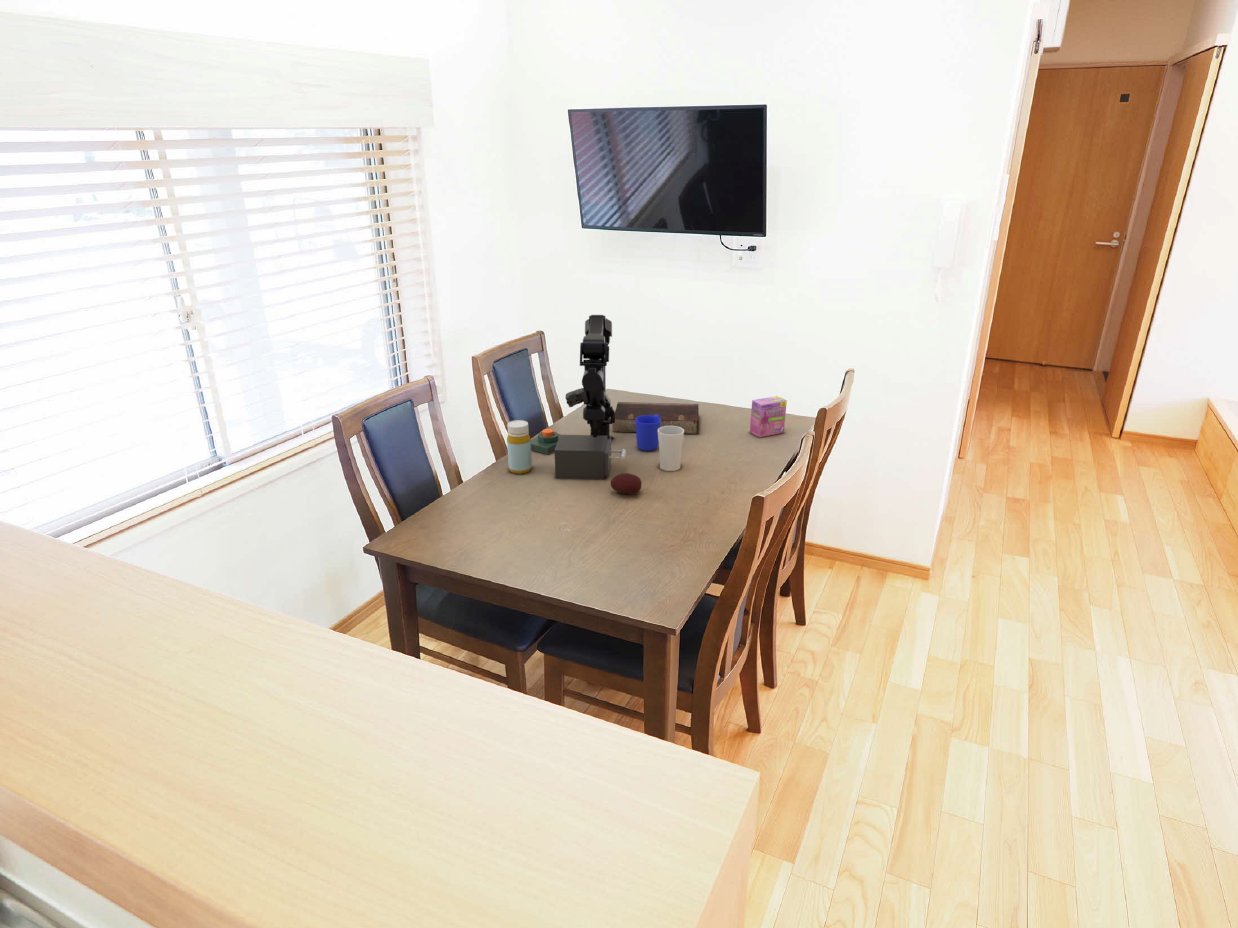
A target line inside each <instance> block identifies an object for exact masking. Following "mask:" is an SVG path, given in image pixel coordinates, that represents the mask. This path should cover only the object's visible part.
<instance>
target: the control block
mask: <svg viewBox="0 0 1238 928" xmlns="http://www.w3.org/2000/svg"><path fill="white" fill-rule="evenodd" d="M553 432H554V436H551V437H544V436H543V434H542V431H540V432H538V434H537V436H536V437H534V438H533V439H530V440H531V451H533V452H537V453H541V454H544V455H550V454H552V453H555V452H554V450H555V447H556V445H557V442H558V439H559V437H560V435H562V434H561V433H559V432H557V431H555V430H553Z"/></svg>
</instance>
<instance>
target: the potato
mask: <svg viewBox="0 0 1238 928" xmlns="http://www.w3.org/2000/svg"><path fill="white" fill-rule="evenodd" d="M642 484H643V483H642V479H641V477H639V476H638V475H636V474H633V473H629V472H622V473H619V474H617V475H615V476H613V477H612V478H611V480H610V487H611V488H612V489H613V490H614V491H615V492H617V493H619V494H623V495H636V494H637V493H639V492H640V491H641V489H642Z"/></svg>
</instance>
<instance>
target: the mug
mask: <svg viewBox="0 0 1238 928" xmlns="http://www.w3.org/2000/svg"><path fill="white" fill-rule="evenodd" d="M635 423H636V432H635V433H636V436H635V437H636V445H637V448H638V449H639V450H641V451H644V452H652V451H656V450H657V449H658V448H659V441H658V429H659V428H660V425H661V419H660V418H659V415H654V416H653V415H643V416H639V417H637V418H636V419H635Z"/></svg>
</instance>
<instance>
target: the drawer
mask: <svg viewBox="0 0 1238 928" xmlns="http://www.w3.org/2000/svg"><path fill="white" fill-rule="evenodd" d="M612 453H613V454H614V453H617V454H618V453H619V454H620V456H612ZM626 454H627V450H626V449H625V448H622V449H620V450H619V449H612V439H607V443H606V447H605V452H604V475H605V477H609V476H610V470H611V465H612V460H620V461H622V462H623V461H625V460H626Z"/></svg>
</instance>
